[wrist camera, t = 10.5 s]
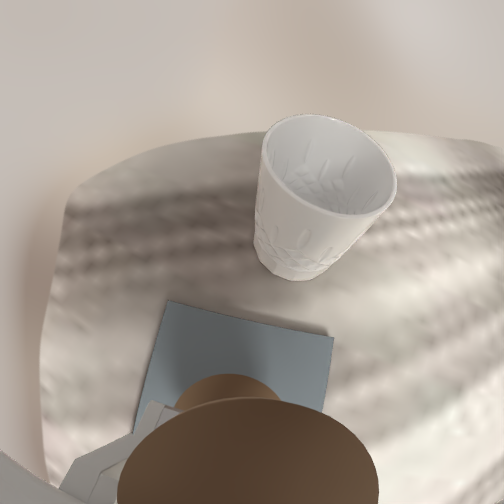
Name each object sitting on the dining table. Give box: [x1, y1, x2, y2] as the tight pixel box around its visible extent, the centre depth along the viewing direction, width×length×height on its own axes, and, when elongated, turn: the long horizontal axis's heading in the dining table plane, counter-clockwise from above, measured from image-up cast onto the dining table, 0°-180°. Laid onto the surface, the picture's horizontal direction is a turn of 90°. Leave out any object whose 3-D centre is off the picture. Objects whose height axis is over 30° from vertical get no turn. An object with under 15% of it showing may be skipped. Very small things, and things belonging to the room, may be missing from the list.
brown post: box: [117, 374, 379, 504], centre depth 8 cm, size 6×6×12 cm
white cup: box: [253, 114, 397, 281], centre depth 19 cm, size 8×8×10 cm
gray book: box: [133, 300, 334, 435], centre depth 17 cm, size 12×14×1 cm
